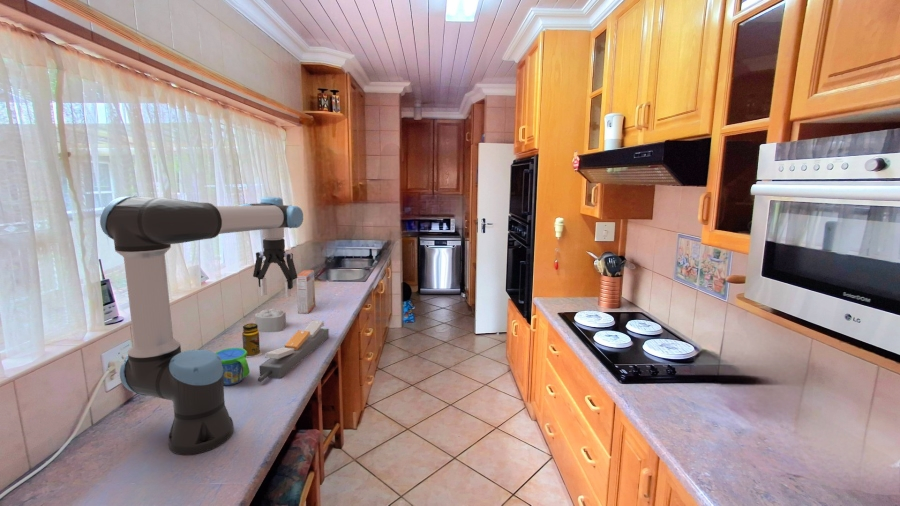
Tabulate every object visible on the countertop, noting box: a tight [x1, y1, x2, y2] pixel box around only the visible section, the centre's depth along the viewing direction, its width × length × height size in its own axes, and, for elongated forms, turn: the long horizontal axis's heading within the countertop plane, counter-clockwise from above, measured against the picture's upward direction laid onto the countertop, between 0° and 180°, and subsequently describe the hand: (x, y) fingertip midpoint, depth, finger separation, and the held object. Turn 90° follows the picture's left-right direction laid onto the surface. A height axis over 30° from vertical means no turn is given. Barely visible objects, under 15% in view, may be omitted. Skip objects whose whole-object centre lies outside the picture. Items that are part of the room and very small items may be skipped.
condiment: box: [241, 322, 263, 358], centre depth 163 cm, size 7×8×12 cm
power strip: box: [257, 327, 330, 383], centre depth 162 cm, size 46×8×4 cm, turn 172°
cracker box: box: [295, 269, 316, 314], centre depth 220 cm, size 14×6×21 cm, turn 3°
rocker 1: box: [265, 347, 294, 359], centre depth 151 cm, size 11×5×2 cm, turn 172°
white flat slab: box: [303, 319, 325, 338], centre depth 176 cm, size 11×5×2 cm, turn 172°
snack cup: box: [215, 347, 251, 386], centre depth 141 cm, size 16×10×10 cm
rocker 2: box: [284, 330, 310, 350], centre depth 164 cm, size 11×5×2 cm, turn 172°
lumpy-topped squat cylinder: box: [254, 308, 287, 333], centre depth 192 cm, size 10×13×9 cm
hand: (276, 296), depth 156 cm, fingers open, 9 cm apart
